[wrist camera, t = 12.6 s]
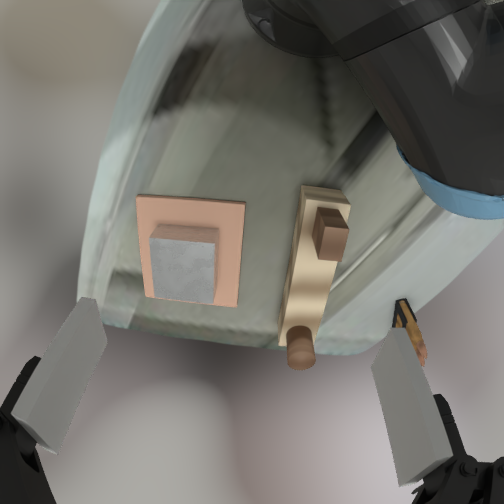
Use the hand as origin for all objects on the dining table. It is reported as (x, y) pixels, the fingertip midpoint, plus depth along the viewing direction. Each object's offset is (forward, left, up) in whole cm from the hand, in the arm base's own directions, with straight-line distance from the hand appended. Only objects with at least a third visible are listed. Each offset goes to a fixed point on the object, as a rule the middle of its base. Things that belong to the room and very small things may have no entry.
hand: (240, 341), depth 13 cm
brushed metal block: (+12, -8, -26) cm, 30 cm away
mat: (+12, -8, -27) cm, 30 cm away
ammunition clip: (+22, +26, -27) cm, 43 cm away
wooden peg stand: (+12, +8, -27) cm, 30 cm away
